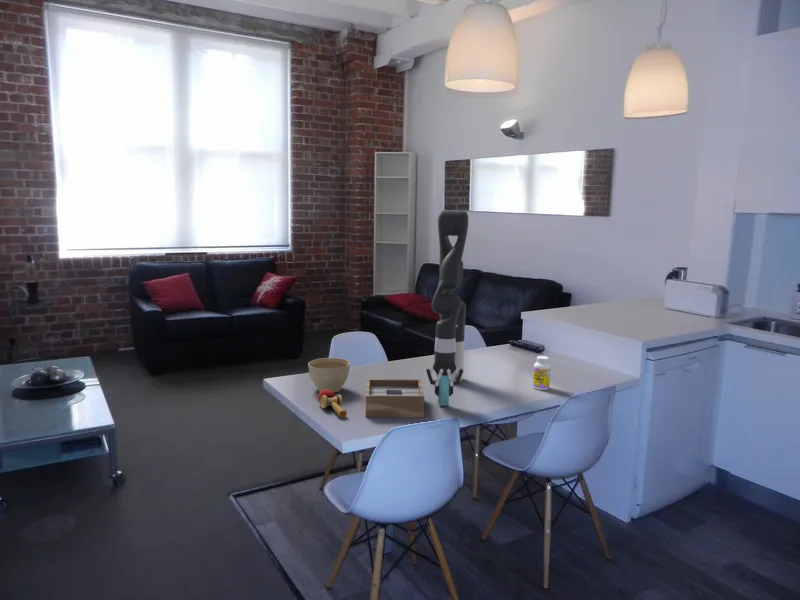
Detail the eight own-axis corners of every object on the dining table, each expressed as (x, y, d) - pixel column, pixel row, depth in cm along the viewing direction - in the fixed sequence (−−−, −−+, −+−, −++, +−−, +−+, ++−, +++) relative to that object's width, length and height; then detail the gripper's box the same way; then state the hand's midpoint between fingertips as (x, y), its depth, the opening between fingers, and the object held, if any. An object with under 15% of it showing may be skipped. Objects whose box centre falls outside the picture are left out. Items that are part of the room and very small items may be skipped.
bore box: (366, 398, 225) (367, 378, 224) (420, 398, 225) (420, 379, 224) (365, 416, 205) (365, 395, 204) (423, 417, 206) (424, 396, 205)
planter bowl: (329, 381, 245) (330, 355, 244) (358, 389, 235) (358, 362, 233) (299, 390, 233) (299, 362, 231) (328, 399, 223) (328, 370, 221)
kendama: (354, 419, 206) (334, 397, 221) (352, 403, 204) (332, 382, 219) (334, 427, 203) (314, 404, 218) (332, 410, 201) (312, 389, 216)
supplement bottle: (529, 387, 242) (530, 356, 240) (538, 384, 247) (540, 354, 245) (543, 391, 237) (545, 360, 235) (552, 388, 242) (554, 357, 240)
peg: (437, 401, 220) (438, 373, 218) (448, 402, 220) (449, 373, 218) (438, 405, 216) (439, 376, 214) (449, 405, 216) (450, 376, 214)
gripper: (463, 347, 219) (461, 392, 221) (424, 346, 218) (423, 392, 221) (466, 352, 211) (464, 399, 214) (426, 351, 211) (424, 398, 213)
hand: (443, 395), depth 217 cm, fingers closed on peg, 4 cm apart
